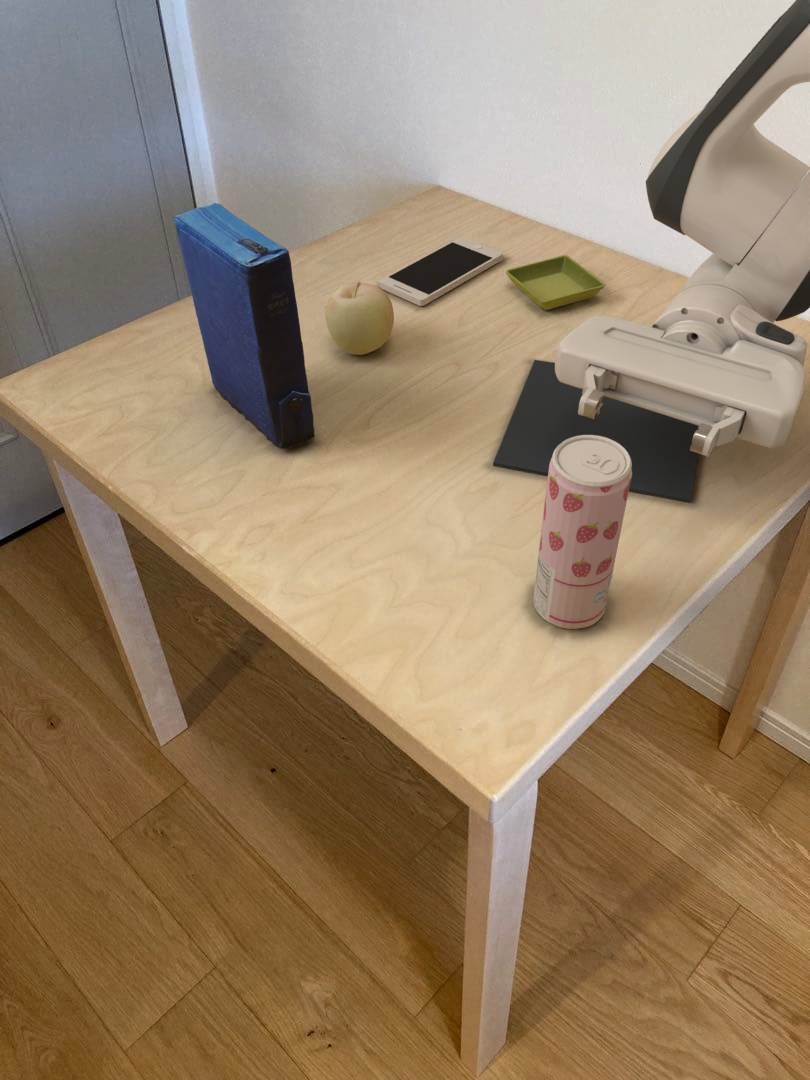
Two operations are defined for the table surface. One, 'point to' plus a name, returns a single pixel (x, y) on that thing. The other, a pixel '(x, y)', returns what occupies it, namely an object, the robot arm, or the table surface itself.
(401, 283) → the smartphone
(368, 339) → the fruit
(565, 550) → the beverage can
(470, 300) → the table surface
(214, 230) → the book
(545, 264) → the saucer
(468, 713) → the table surface
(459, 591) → the table surface
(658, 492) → the mat
